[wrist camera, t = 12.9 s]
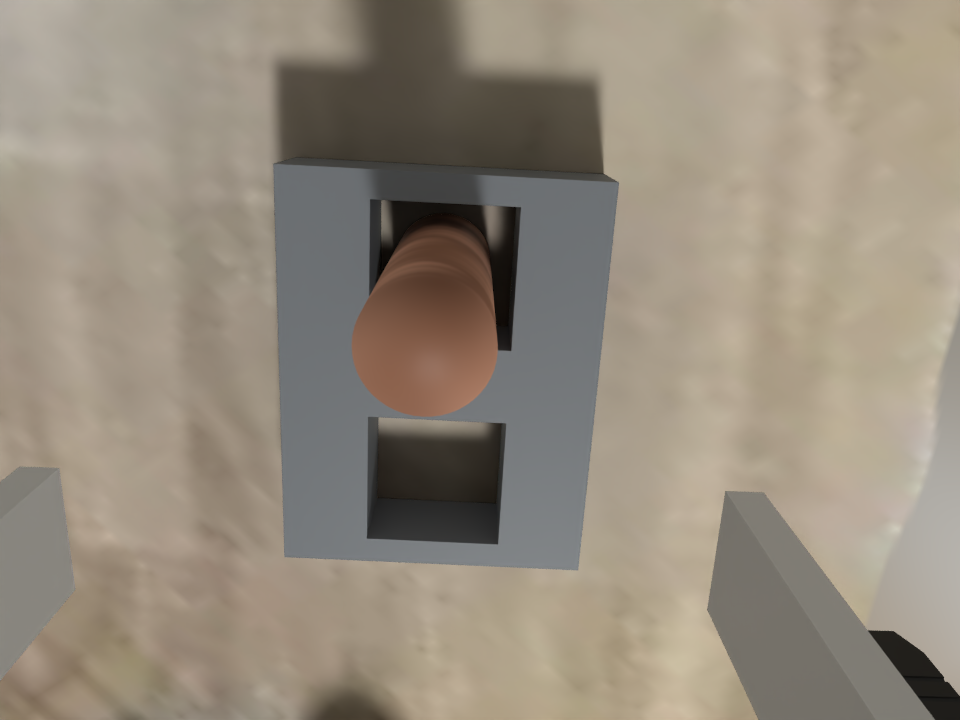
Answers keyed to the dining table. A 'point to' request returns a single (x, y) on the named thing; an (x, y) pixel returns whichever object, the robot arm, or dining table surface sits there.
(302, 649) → the dining table surface
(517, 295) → the socket block
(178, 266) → the dining table surface
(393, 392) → the peg
